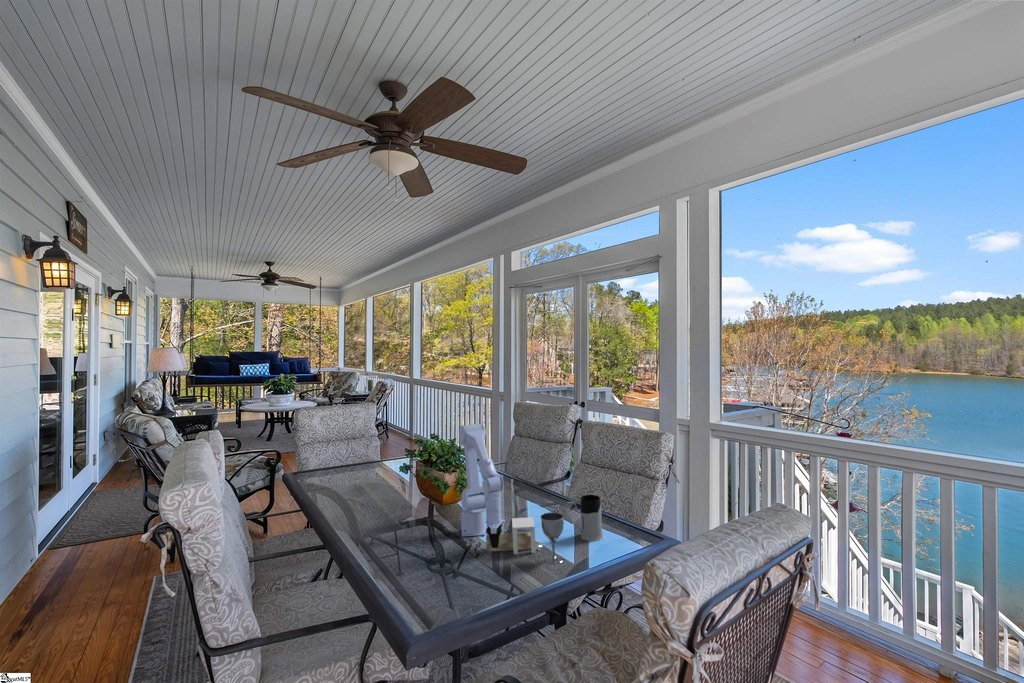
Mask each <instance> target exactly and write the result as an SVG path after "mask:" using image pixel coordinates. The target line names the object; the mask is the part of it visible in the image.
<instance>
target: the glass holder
mask: <svg viewBox="0 0 1024 683" xmlns="http://www.w3.org/2000/svg"><path fill="white" fill-rule="evenodd" d="M569 504H573V505H575V511H576V513H577V514H580V521H581V525H580V526H581V527H580V526H578V525H577V524H576V523H574V521H572V520H571V519H570V516H569V515H568V510H567V509H568V508H567V507H568V505H569ZM565 513H566V517H567V519H568V520H569V522H570V523H571V524H573V526H575V527H576V528H577V529H578V530H580V533H581V534H580V538H581V539H582V540H584V541H587V542H598V541H597V540H599V541H601V540H600V539H601V538H603V536H604V534H603V523H602V521H603V520H602V519H603V518H602V504H601V497H600V496H599V495H595V494H584V495H582V496H580V511H578V507H577V504H576V502H574V501H569V502H567V503H566V504H565ZM603 539H604V538H603Z"/></svg>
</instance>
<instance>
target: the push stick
mask: <svg viewBox="0 0 1024 683" xmlns="http://www.w3.org/2000/svg"><path fill="white" fill-rule="evenodd" d="M485 541H486V542H485V543H486V544H485V545H486V547H485V548H486V552H499V551H500V552H502V551H506V552H507V551H514V550H513V533H505V534H504V533H501V534H500V536H499V544H498V548H492V546H491V541H490V538H489V535H488V534H485ZM517 547H518V551H520V550H521V551H523V550H531V533H517Z"/></svg>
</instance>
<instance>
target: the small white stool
mask: <svg viewBox="0 0 1024 683" xmlns="http://www.w3.org/2000/svg"><path fill="white" fill-rule="evenodd" d="M511 519H512V520H511V521H512V523H511V524H512V525H511V526H512V527H511V528H512V534H513V550H512V551H513V555H518V553H519V552H518V551H519V550H518V547H517V534H520V533H531V549H530V551H531V554H536V553H537V552H536V551H537V550H536V547H535V542H536V533H535V532H536V530H535V528H536V527H535V521H534V517H513V518H511Z"/></svg>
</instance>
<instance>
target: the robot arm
mask: <svg viewBox="0 0 1024 683" xmlns="http://www.w3.org/2000/svg"><path fill="white" fill-rule="evenodd" d="M486 434H487V431H486V426H485V425H484V423H482V422H481V423H475V424H467V425H465V424H464V425H460V427H459V430H458V437H459V438H458V440H459V445H460V446H463V449H464V450H463V451H464V459H465V460H464V461H465V470H466V479H467V482H466V484H467V487H466V488H464V490H463V491H462V492H461V507H462V510H461V512H460V513H461V516H460V519H461V520H460V522H461V526H460V528H461V537H476V536H477V537H479V536H486V535H489V538H490V541H491V546H492V548H498V544H499V536H500V534H502V531H503V529H502V526H503V524H505V522H506V519H502V518H503V517H502V497H501V493H502V492H501V491H503V490H504V489H503V488H504V483H503V482H504V481H503V478H502V476H501V475H500V474H499V473H498V472H497V469H496V467H495V464H494V461H493V459H491V457H489V455H488V451H487V447H486V443H485V440H486ZM479 472H480V475H481V479H482V481H481V482H482V483H481V485H482V486H481V485H480V476H479ZM485 515H486V516H485ZM485 524H486V526H485ZM486 533H487V534H486Z"/></svg>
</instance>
